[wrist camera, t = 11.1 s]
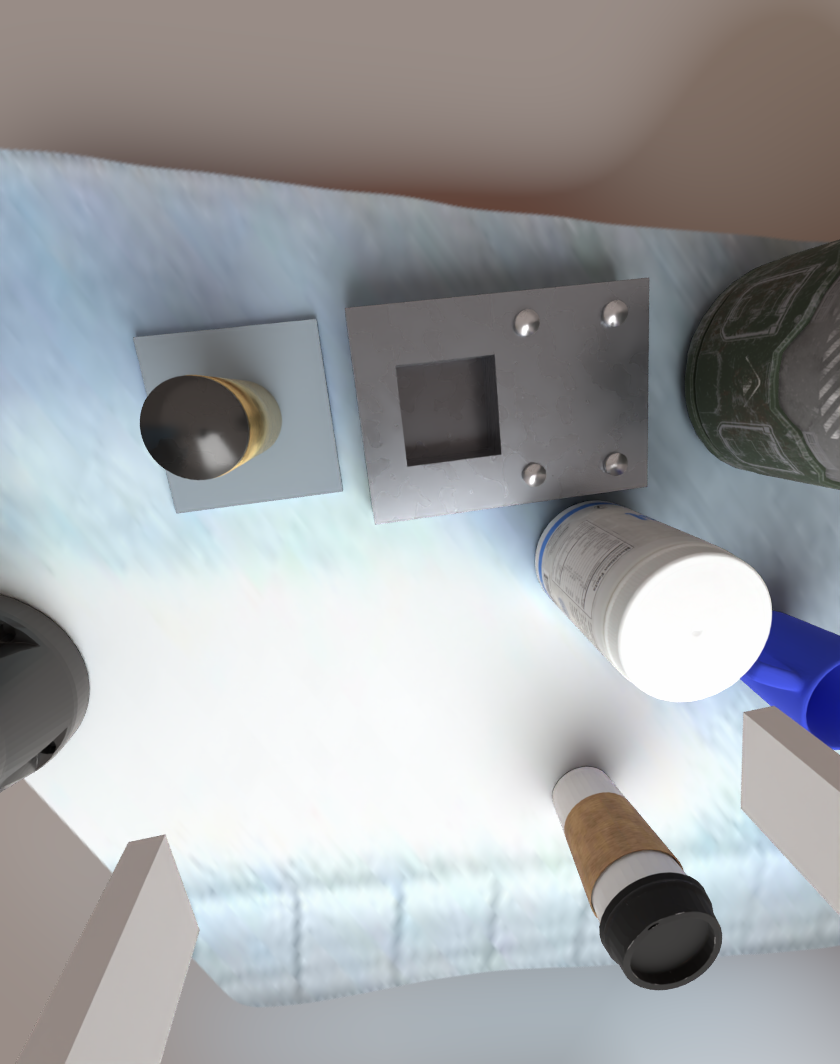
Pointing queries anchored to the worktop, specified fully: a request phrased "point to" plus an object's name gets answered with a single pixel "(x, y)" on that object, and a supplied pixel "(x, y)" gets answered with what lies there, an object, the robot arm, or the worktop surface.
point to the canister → (773, 370)
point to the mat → (292, 379)
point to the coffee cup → (635, 885)
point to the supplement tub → (655, 599)
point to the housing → (502, 397)
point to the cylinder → (208, 424)
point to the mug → (801, 675)
